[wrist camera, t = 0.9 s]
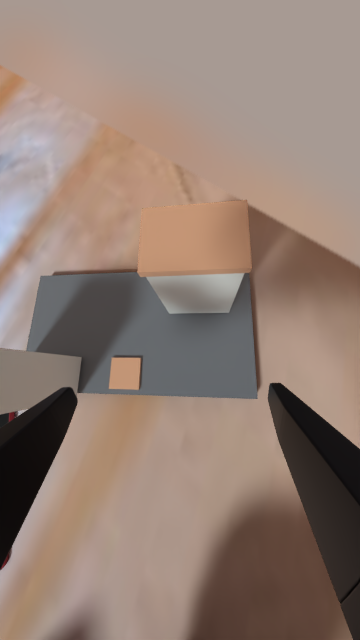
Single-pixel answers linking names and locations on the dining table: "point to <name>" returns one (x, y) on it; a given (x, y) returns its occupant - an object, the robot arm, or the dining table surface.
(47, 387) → the grey rectangular block
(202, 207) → the white box tan lid
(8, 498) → the robot arm
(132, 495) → the dining table surface
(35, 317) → the grey flat board
